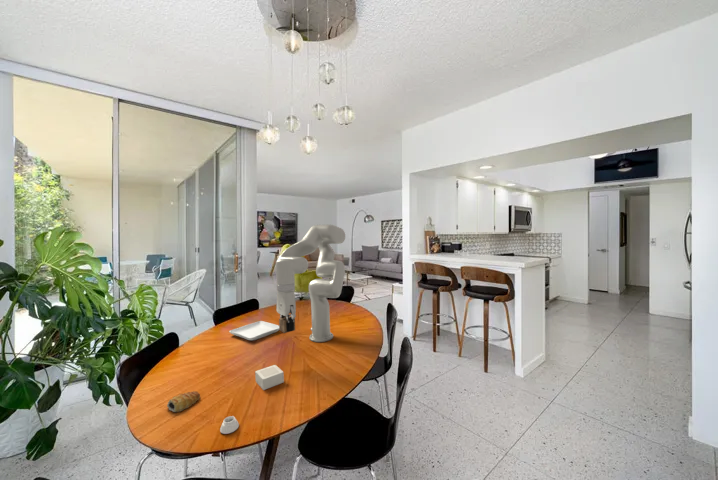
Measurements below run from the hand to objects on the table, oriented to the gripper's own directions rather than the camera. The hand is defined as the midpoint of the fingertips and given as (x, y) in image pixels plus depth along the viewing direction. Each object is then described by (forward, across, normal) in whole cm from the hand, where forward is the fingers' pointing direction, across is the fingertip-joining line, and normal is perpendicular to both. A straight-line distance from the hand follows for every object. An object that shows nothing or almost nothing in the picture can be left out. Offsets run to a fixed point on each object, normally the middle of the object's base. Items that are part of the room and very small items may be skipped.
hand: (287, 329), depth 123 cm
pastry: (+16, +2, -40) cm, 43 cm away
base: (+16, +8, -12) cm, 21 cm away
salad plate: (+16, -47, +2) cm, 50 cm away
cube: (+1, 0, 0) cm, 1 cm away
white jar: (+16, +25, -31) cm, 43 cm away
